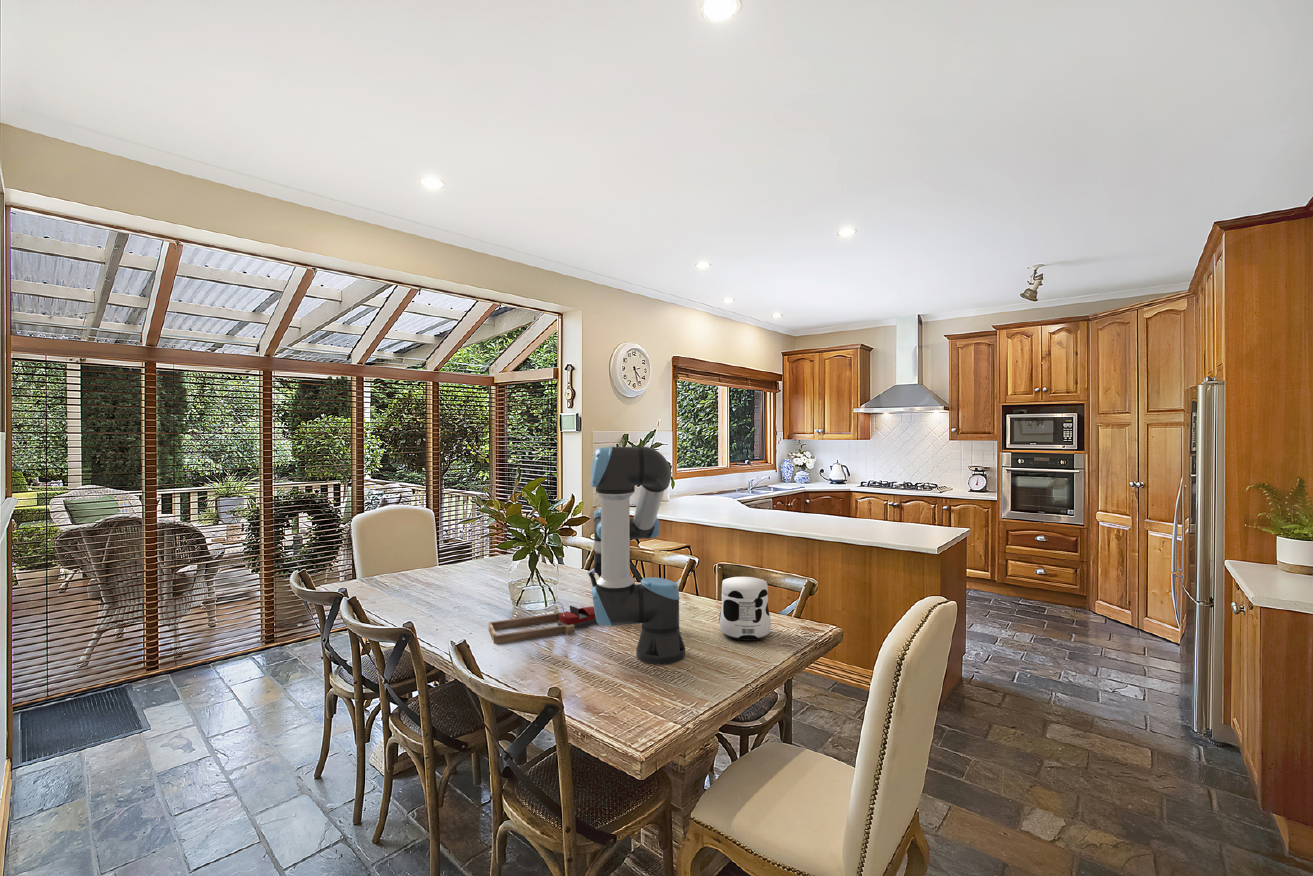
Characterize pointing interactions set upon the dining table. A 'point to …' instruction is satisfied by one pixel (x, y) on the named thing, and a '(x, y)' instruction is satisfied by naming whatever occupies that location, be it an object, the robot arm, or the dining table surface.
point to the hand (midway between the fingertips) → (605, 615)
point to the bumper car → (577, 617)
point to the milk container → (745, 608)
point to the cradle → (529, 633)
